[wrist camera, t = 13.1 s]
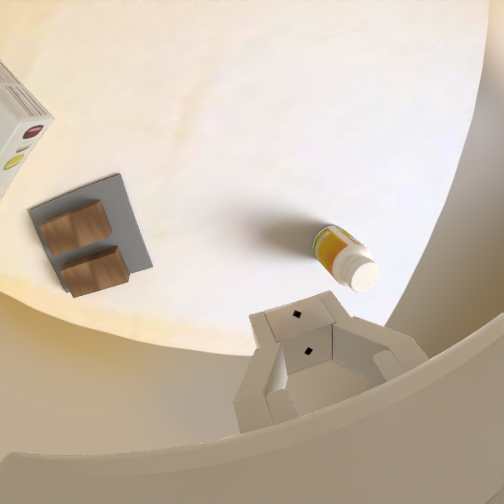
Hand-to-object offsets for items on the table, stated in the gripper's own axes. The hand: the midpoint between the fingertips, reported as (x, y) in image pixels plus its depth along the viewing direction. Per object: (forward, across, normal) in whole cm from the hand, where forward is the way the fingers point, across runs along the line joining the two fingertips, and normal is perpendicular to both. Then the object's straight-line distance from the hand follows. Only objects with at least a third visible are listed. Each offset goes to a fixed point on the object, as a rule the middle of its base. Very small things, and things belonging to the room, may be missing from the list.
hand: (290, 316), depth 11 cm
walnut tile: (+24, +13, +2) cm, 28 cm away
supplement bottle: (+26, -13, +14) cm, 32 cm away
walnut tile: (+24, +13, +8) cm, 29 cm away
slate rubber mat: (+26, +17, +4) cm, 31 cm away
